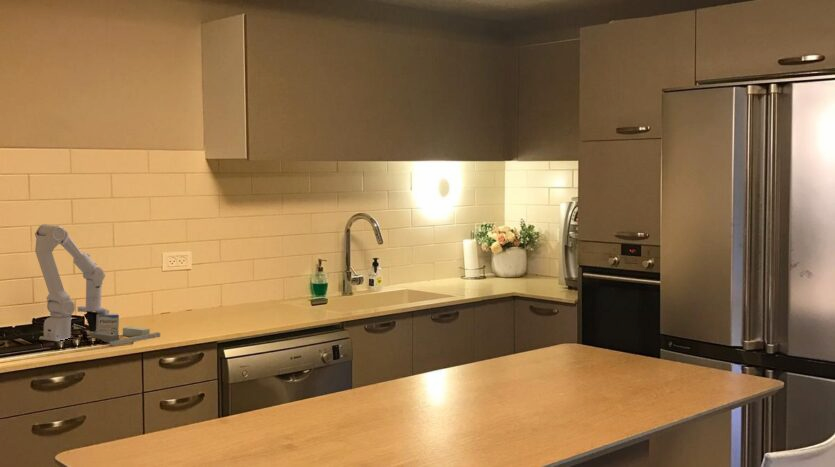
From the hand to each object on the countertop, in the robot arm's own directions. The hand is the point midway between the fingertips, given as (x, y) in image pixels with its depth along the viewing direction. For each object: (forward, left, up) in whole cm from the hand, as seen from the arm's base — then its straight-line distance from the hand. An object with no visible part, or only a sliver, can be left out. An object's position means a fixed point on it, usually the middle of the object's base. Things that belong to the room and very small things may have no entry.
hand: (92, 331), depth 361 cm
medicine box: (+1, -6, -2) cm, 7 cm away
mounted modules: (0, -14, -1) cm, 14 cm away
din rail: (0, -22, -1) cm, 22 cm away
